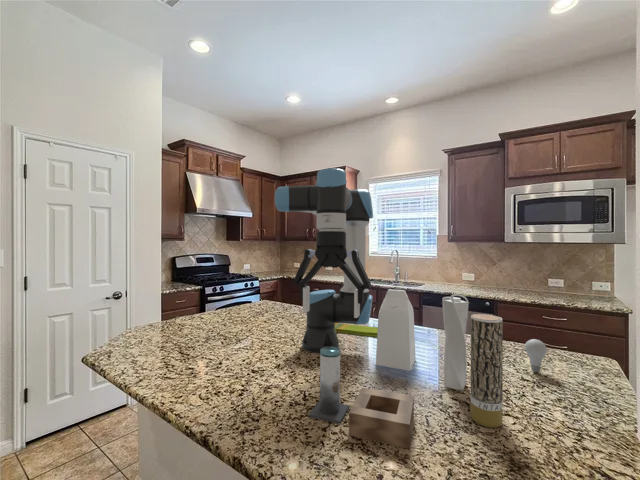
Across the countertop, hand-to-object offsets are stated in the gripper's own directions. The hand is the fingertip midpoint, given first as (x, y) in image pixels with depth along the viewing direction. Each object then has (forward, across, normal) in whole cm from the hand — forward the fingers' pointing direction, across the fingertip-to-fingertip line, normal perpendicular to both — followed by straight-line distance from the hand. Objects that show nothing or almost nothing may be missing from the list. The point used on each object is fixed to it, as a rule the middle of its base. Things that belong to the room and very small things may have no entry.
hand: (330, 314), depth 80 cm
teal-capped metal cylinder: (+24, 0, -1) cm, 24 cm away
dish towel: (+27, -13, +76) cm, 81 cm away
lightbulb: (+26, +57, +48) cm, 79 cm away
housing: (+24, +14, -2) cm, 28 cm away
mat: (+24, 0, -1) cm, 25 cm away
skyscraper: (+25, +31, +27) cm, 48 cm away
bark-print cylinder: (+25, +37, +9) cm, 45 cm away
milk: (+26, +12, +40) cm, 49 cm away
